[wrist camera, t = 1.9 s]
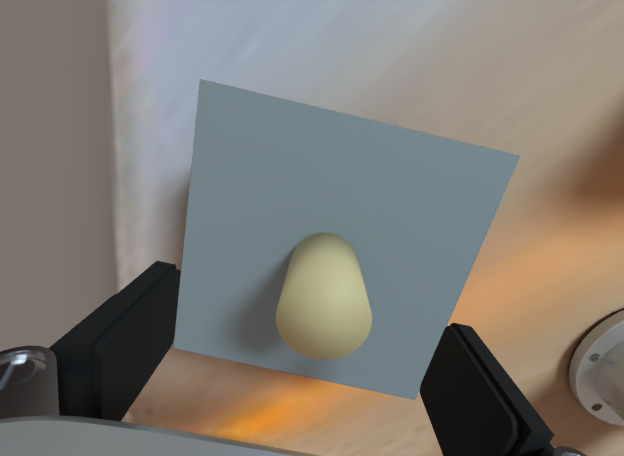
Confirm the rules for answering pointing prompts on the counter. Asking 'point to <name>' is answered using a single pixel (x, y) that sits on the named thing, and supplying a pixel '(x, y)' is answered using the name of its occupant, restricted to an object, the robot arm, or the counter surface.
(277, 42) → the counter surface
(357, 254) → the lid
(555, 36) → the counter surface
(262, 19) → the counter surface
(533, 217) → the counter surface
